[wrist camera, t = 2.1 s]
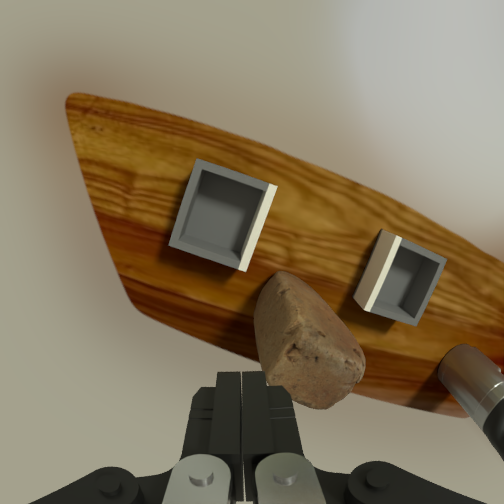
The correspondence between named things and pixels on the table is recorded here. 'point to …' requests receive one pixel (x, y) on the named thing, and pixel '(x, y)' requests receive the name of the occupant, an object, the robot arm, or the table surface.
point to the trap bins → (250, 225)
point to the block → (305, 344)
